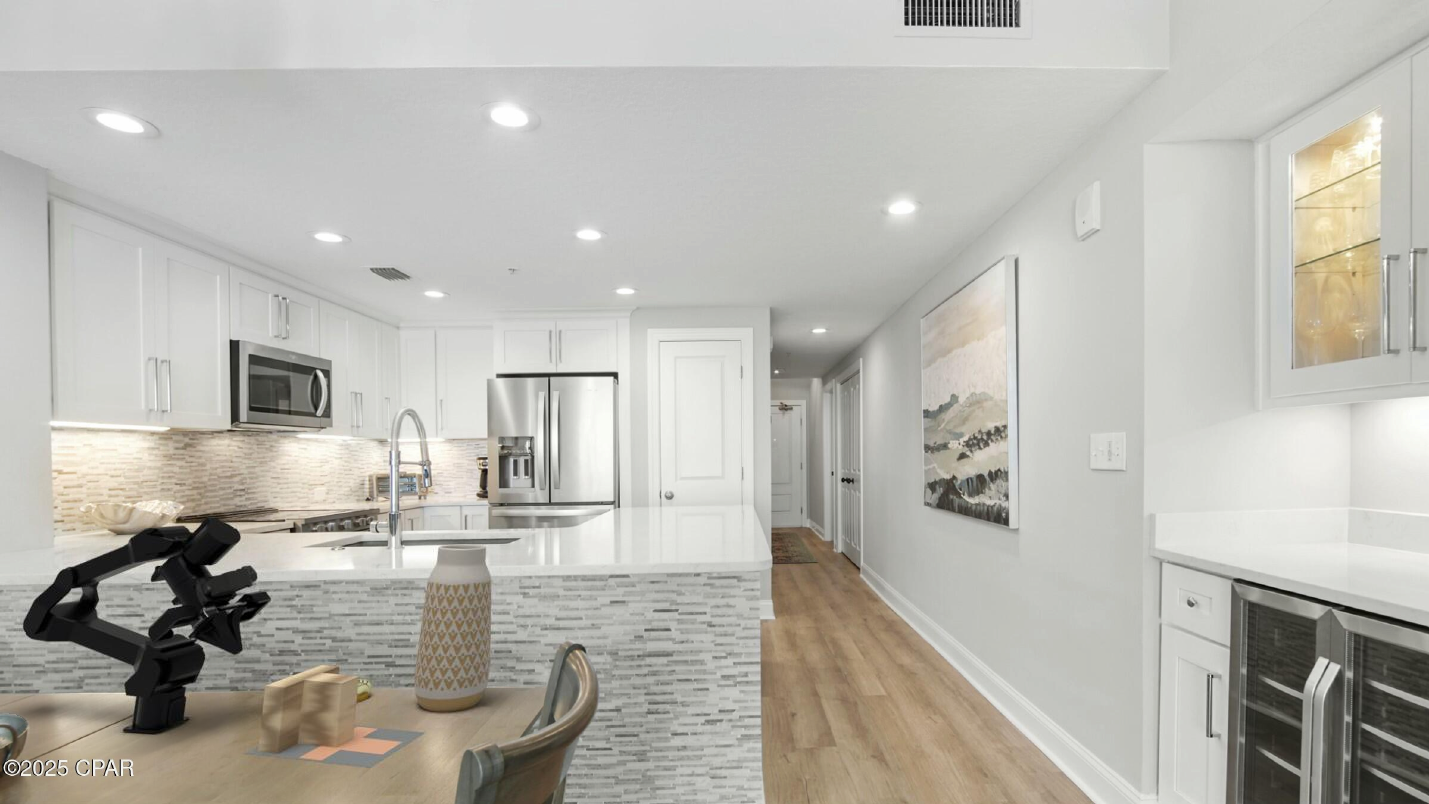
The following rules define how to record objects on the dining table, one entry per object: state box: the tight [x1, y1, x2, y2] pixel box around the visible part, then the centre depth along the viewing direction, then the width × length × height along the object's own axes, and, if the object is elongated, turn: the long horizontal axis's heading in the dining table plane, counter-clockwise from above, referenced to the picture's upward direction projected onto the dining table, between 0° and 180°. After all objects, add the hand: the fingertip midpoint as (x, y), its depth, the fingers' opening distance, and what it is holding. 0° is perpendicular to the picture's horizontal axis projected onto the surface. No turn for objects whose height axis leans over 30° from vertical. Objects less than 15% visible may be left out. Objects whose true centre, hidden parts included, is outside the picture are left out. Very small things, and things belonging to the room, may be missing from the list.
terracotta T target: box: [299, 727, 402, 760], centre depth 105 cm, size 12×13×1 cm
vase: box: [414, 543, 492, 713], centre depth 128 cm, size 14×14×31 cm
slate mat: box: [244, 724, 426, 769], centre depth 106 cm, size 22×14×1 cm, turn 81°
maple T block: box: [258, 664, 360, 754], centre depth 107 cm, size 10×12×10 cm
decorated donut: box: [357, 676, 373, 703], centre depth 127 cm, size 10×11×4 cm
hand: (239, 652), depth 111 cm, fingers closed
